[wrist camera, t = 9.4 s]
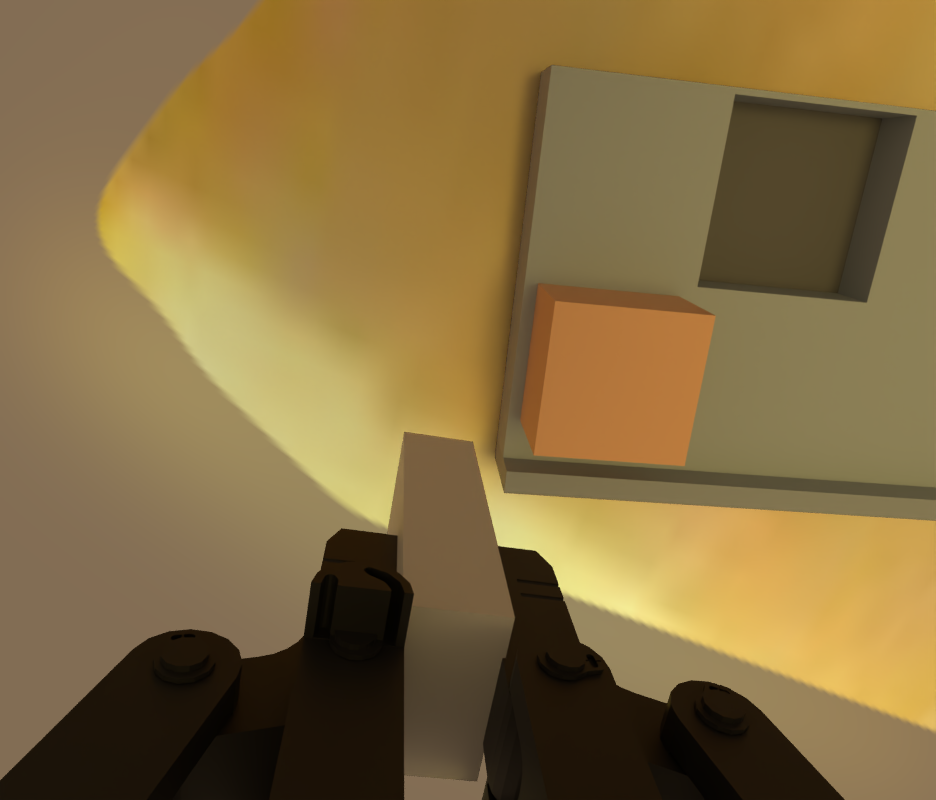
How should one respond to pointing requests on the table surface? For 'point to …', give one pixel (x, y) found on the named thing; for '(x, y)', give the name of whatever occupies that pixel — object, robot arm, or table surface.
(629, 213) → the block
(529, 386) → the block
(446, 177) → the table surface
